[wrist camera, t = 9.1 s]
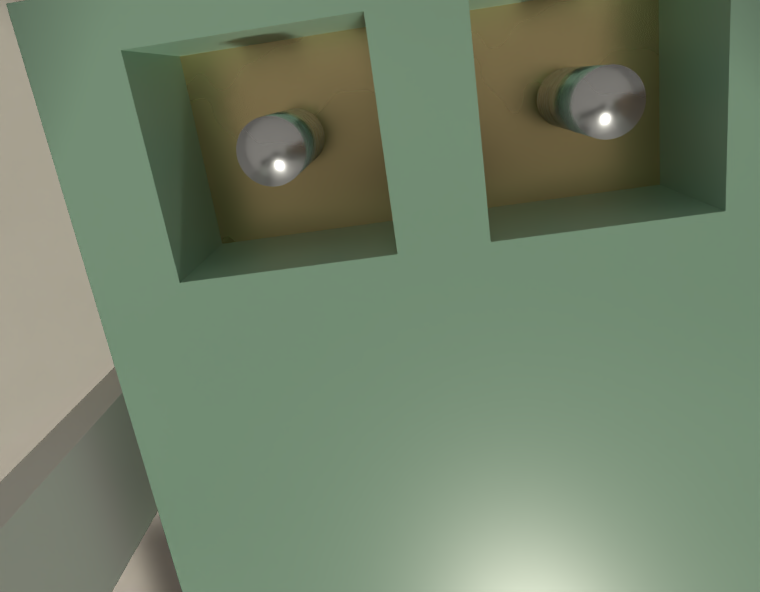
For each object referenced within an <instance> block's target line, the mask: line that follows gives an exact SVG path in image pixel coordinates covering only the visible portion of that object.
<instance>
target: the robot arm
mask: <svg viewBox="0 0 760 592" xmlns="http://www.w3.org/2000/svg"><path fill="white" fill-rule="evenodd" d="M157 511H158V509H157V506H156V503H155V499H154V496H153V493H152V489H151V486H150V483H149V479H148V476H147V472H146V469H145V466H144V462H143V459H142V456H141V452H140V449H139V446H138V442H137V439H136V436H135V432H134V429H133V426H132V422H131V419H130V416H129V412H128V409H127V406H126V402H125V399H124V396H123V392H122V389H121V386H120V382H119V379H118V376H117V372H116V369H115V367H114V368H113V369H112V370H111V371H110V372H109V373H108V374H107V375H106V376H105V377H104V378H103V379H102V380H101V381H100V382H99V383H98V384H97V385H96V386H95V387H94V388H93V389H92V390H91V391H90V392H89V393H88V394H87V395H86V396H85V397H84V398H83V399H82V400H81V401H80V402H79V403H78V404H77V405H76V406H75V407H74V408H73V409H72V410H71V412H70V413H69V414H68V415H67V416H66V417H65V418H64V419H63V420H62V421H61V422H60V423H59V424H58V425H57V426H56V427H55V428H54V429H53V430H52V431H51V432H50V433H49V434H48V435H47V436H46V437H45V438H44V439H43V440H42V441H41V442H40V443H39V444H38V445H37V446H36V447H35V448H34V449H33V450H32V451H31V452H30V453H29V454H28V455H27V456H26V457H25V458H24V459H23V460H22V461H21V462H20V463H19V464H18V465H17V466H16V467H15V468H14V469H13V470H12V471H11V472H10V473H9V474H8V475H7V476H6V477H5V478H4V479H3V480H2V481H1V482H0V592H112V591H113V589H114V587H115V585H116V584H117V582H118V580H119V578H120V577H121V575H122V573H123V571H124V570H125V568H126V566H127V564H128V562H129V561H130V559H131V557H132V555H133V554H134V552H135V550H136V548H137V547H138V545H139V543H140V541H141V539H142V538H143V536H144V534H145V532H146V531H147V529H148V527H149V525H150V524H151V522H152V520H153V518H154V516H155V515H156V513H157Z"/></svg>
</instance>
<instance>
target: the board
mask: <svg viewBox="0 0 760 592" xmlns="http://www.w3.org/2000/svg"><path fill="white" fill-rule="evenodd" d="M526 1H532V0H25V1H19V2H13V3H7V4H6V5H7V8H8V12H9V15H10V18H11V22H12V25H13V28H14V32H15V35H16V38H17V42H18V45H19V48H20V52H21V55H22V58H23V62H24V65H25V68H26V72H27V75H28V78H29V82H30V85H31V88H32V92H33V95H34V98H35V102H36V105H37V108H38V112H39V115H40V118H41V122H42V125H43V129H44V132H45V135H46V139H47V142H48V145H49V149H50V152H51V155H52V159H53V162H54V165H55V169H56V172H57V175H58V179H59V182H60V185H61V189H62V192H63V195H64V199H65V202H66V205H67V209H68V212H69V215H70V219H71V222H72V225H73V229H74V232H75V235H76V239H77V242H78V245H79V249H80V252H81V255H82V259H83V262H84V265H85V269H86V272H87V275H88V279H89V282H90V285H91V289H92V292H93V295H94V299H95V302H96V306H97V309H98V312H99V316H100V319H101V322H102V326H103V329H104V332H105V336H106V339H107V342H108V346H109V349H110V352H111V356H112V359H113V362H114V366H115V369H116V372H117V376H118V379H119V382H120V386H121V389H122V392H123V396H124V399H125V402H126V406H127V409H128V412H129V416H130V419H131V422H132V426H133V429H134V432H135V436H136V439H137V442H138V446H139V449H140V452H141V456H142V459H143V462H144V466H145V469H146V472H147V476H148V479H149V483H150V486H151V489H152V493H153V496H154V499H155V503H156V506H157V509H158V513H159V516H160V519H161V523H162V526H163V529H164V533H165V536H166V539H167V543H168V546H169V549H170V553H171V556H172V559H173V563H174V566H175V569H176V573H177V576H178V579H179V583H180V586H181V589H182V592H760V0H659V130H660V185H653V186H646V187H638V188H631V189H624V190H616V191H609V192H601V193H594V194H587V195H579V196H572V197H564V198H557V199H550V200H542V201H535V202H528V203H520V204H513V205H505V206H498V207H491V208H488V207H487V196H486V185H485V175H484V164H483V153H482V142H481V131H480V120H479V109H478V99H477V88H476V77H475V66H474V55H473V44H472V33H471V23H470V12H469V10H475V9H482V8H488V7H494V6H501V5H507V4H513V3H519V2H526ZM362 27H366V32H367V39H368V46H369V53H370V60H371V67H372V74H373V82H374V89H375V96H376V103H377V110H378V117H379V125H380V132H381V139H382V146H383V153H384V160H385V168H386V175H387V182H388V189H389V196H390V203H391V211H392V218H393V221H387V222H380V223H372V224H365V225H357V226H350V227H343V228H335V229H328V230H321V231H313V232H306V233H298V234H291V235H284V236H276V237H269V238H261V239H254V240H247V241H239V242H232V243H224V244H222V240H221V236H220V232H219V227H218V223H217V218H216V214H215V209H214V205H213V201H212V196H211V192H210V187H209V183H208V179H207V174H206V170H205V165H204V161H203V157H202V152H201V148H200V143H199V139H198V135H197V130H196V126H195V121H194V117H193V113H192V108H191V104H190V99H189V95H188V91H187V86H186V82H185V77H184V73H183V68H182V64H181V60H180V56H185V55H191V54H198V53H204V52H210V51H217V50H223V49H229V48H236V47H242V46H248V45H255V44H261V43H267V42H273V41H280V40H286V39H292V38H299V37H305V36H311V35H318V34H324V33H330V32H337V31H343V30H349V29H355V28H362Z"/></svg>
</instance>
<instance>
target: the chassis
mask: <svg viewBox="0 0 760 592" xmlns="http://www.w3.org/2000/svg"><path fill="white" fill-rule="evenodd" d="M469 12H470V23H471V33H472V44H473V55H474V66H475V77H476V88H477V99H478V109H479V120H480V131H481V142H482V153H483V164H484V175H485V185H486V196H487V207H488V208H491V207H498V206H505V205H513V204H520V203H528V202H535V201H542V200H550V199H557V198H564V197H572V196H579V195H587V194H594V193H601V192H609V191H616V190H624V189H631V188H638V187H646V186H653V185H660V130H659V0H532V1H526V2H519V3H513V4H507V5H501V6H494V7H488V8H482V9H475V10H469ZM180 60H181V64H182V68H183V73H184V77H185V82H186V86H187V91H188V95H189V99H190V104H191V108H192V113H193V117H194V121H195V126H196V130H197V135H198V139H199V143H200V148H201V152H202V157H203V161H204V165H205V170H206V174H207V179H208V183H209V187H210V192H211V196H212V201H213V205H214V209H215V214H216V218H217V223H218V227H219V232H220V236H221V240H222V244H224V243H232V242H239V241H247V240H254V239H261V238H269V237H276V236H284V235H291V234H298V233H306V232H313V231H321V230H328V229H335V228H343V227H350V226H357V225H365V224H372V223H380V222H387V221H393V218H392V211H391V203H390V196H389V189H388V182H387V175H386V168H385V160H384V153H383V146H382V139H381V132H380V125H379V117H378V110H377V103H376V96H375V89H374V82H373V74H372V67H371V60H370V53H369V46H368V39H367V32H366V27H362V28H355V29H349V30H343V31H337V32H330V33H324V34H318V35H311V36H305V37H299V38H292V39H286V40H280V41H273V42H267V43H261V44H255V45H248V46H242V47H236V48H229V49H223V50H217V51H210V52H204V53H198V54H191V55H185V56H180Z"/></svg>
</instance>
